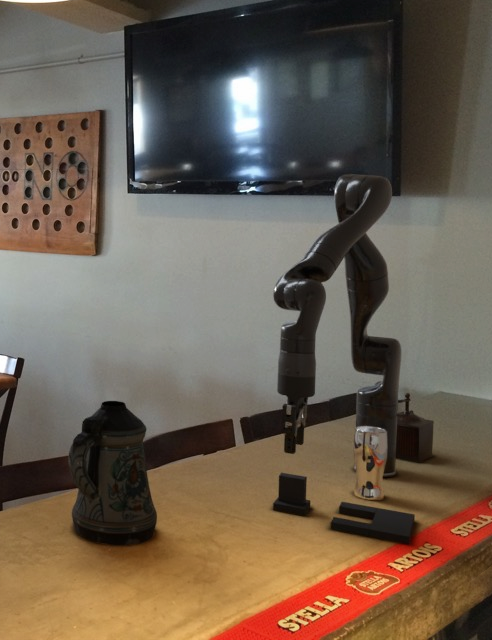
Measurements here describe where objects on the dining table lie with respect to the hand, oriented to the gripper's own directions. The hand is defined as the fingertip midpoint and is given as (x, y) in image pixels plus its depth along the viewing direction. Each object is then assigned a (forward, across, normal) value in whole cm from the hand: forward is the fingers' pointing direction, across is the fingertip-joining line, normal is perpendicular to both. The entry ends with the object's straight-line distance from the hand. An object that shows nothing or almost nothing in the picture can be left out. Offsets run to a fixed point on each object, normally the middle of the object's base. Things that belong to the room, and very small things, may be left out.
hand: (293, 448), depth 171 cm
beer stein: (+13, -33, +27) cm, 45 cm away
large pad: (+13, -1, -16) cm, 20 cm away
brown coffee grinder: (+13, +60, -15) cm, 63 cm away
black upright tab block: (+13, 0, 0) cm, 13 cm away
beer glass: (+13, +18, -13) cm, 26 cm away
